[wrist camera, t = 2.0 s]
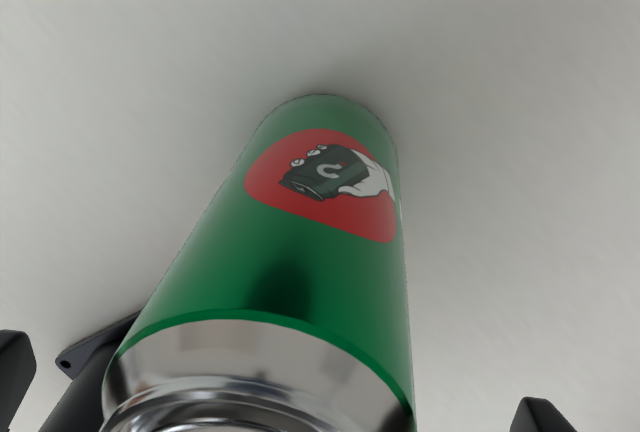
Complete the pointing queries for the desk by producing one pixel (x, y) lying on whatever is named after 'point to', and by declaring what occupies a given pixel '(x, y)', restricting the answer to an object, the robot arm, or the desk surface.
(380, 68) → the desk surface
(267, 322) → the soda can
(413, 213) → the desk surface
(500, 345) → the desk surface
